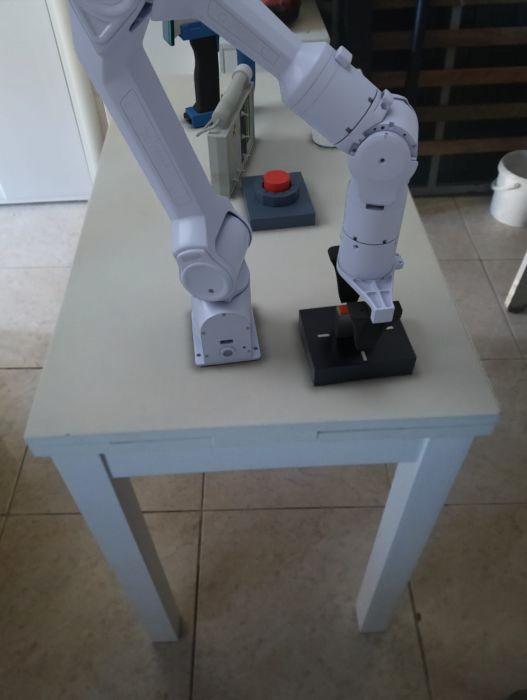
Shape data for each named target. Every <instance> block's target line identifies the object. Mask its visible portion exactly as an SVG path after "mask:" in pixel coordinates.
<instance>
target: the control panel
mask: <svg viewBox="0 0 527 700" xmlns="http://www.w3.org/2000/svg"><path fill="white" fill-rule="evenodd" d="M339 305H340V304H338V305H329V306H328V305H327V306H320V307H310V308H301V309H298V321H297V322H298V323H297V326H298V327H297V328H298V331H299V335H300V338H301V339H300V340H301V343H302V347H303V351H304V355H305V359H306V361H307V366H308V370H309V374H310V377H311V382H312V386H313V387H318V386H326V385H332V384H334V385H335V384H343V383H350V382H358V381H359V382H361V381H366V380H376V379H383V378H391V377H399V376H400V377H401V376H407V375H413V373H414V369H415V365H416V361H417V354H416V352H415V349H414V348H413V346H412V345H413V344H411V343H412V342H411V341H410V338H409V336H408V333H407V332H406V329H405V327H404V324H403V322H402V320H401V318H400V319H398V320H397V321H395V322H394V323H392V324H391V325H390V326H389V327H388V328H387V329H386V330H385V331H384V332H383V334H382V335H381V337H380V338H379V340H378V342H377V343H376V345H375V346H374V348H369V349H360V350H357V348H356V345H355V342H354V337H349V338H341V339H337V338H336V335H335V332H334V325H335V316H336V307H337V306H339Z"/></svg>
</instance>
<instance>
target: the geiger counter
mask: <svg viewBox="0 0 527 700" xmlns="http://www.w3.org/2000/svg"><path fill="white" fill-rule="evenodd" d="M252 74H253V73H252V70H251V68H250V67H249V66H248V65H247V64H240V65H238V66H237V65H236V67H235V69H234V70H233V72H232V75H231V81H230V82H229V84H228V86H227V88H226V89H225V91H224V93H220V102H219V104H218V105H217V107H216V109H215V111H214V112H213V114H212V119H211V120H210V121H209V122H208V123H207V124H206V125H205V126H203V128H201V130H199V131H198V132H197V133H196V134H195V137H196V138H198V137H200V136H201V135H202V134H205V133H207V135H206V137H207V138H206V139H207V149H208V160H209V162H208V163H209V173H210V174H209V175H210V184H211V186H212V188H213V190H214V192H215V194H217V195H221V196H225V197H228V198H229V200H230V199H231V198H232V196H233V193H234V190H235V189H236V186H237V183H241V180H239V179H240V178H241V174H242V172H246V169H244V167H245V165H246V163H247V160H248V158H249V157H251V154H250V153H251V151H252V148H253V146H254V144H255V141H256V130H255V129H256V128H255V127H256V126H255V125H256V124H255V90H254V82H251V81H250V80H251V78H252ZM212 122H213V124H211V123H212Z"/></svg>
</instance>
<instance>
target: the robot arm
mask: <svg viewBox="0 0 527 700" xmlns="http://www.w3.org/2000/svg"><path fill="white" fill-rule="evenodd" d="M66 1H67V9H68V17H69V24H70V31H71V36H72V44H73V48H74V49H73V50H74V51H75V54H76V56H77V58H78V61H79V62H80V64H81V66H82V67H83V68H84V71H85V72H86V74H87V77H89V79H90V81H91V83H92V85H93V86H94V88H95V90H96V92H97V94H98V95H99V97H100V99H101V100H102V102H103V104H104V106H105V108H106V109H107V111H108V113H109V115H110V116H111V118H112V120H113V122H114V123H115V125H116V127H117V128H118V130H119V132H120V134H121V136H122V137H123V139H124V141H125V142H126V145H127V146H128V148H129V150H130V152H131V153H132V155H133V157H134V159H135V160H136V162H137V164H138V165H139V167H140V169H141V170H142V173H143V174H144V176H145V178H146V179H147V182H148V183H149V184H150V185H149V186H151V188H152V190H153V192H154V193H155V195H156V197H157V199H158V200H159V202H160V204H161V206H162V207H163V210H164V211H165V213H166V215H167V216H168V218H169V220H170V223H171V254H172V256H173V257H174V259H175V262H176V263H177V265H178V279H179V282H180V284H181V285H182V287H183V288H184V289H185V290H186V291H187V293H189V295H190V301H191V307H192V311H191V313H190V314H191V315H190V316H191V327H192V328H191V329H192V339H193V350H194V351H193V352H194V361H195V362H194V363H195V365H196V366H197V367H205V366H212V365H213V366H214V365H222V364H231V363H238V362H247V361H254V360H255V361H256V360H259V359H261V357H262V355H261V349H260V343H259V337H258V333H257V327H256V322H255V317H254V311H253V306H252V288H251V287H252V286H251V272H250V268H249V266H248V264H247V261H246V254H247V251H248V249H249V248H250V246H251V244H252V241H253V231H252V229H251V227H250V224H249V221H248V219H246V218H245V217H244V216H243V215H241V214H240V213H239V212H238V211H237V209H235V207H234V206H233V203H232V202H231V200H230V199H229V198H228V197H225V196H221V195H217V194H215V192H214V190H213V188H212V185H211V181H209V178H208V176H207V174H206V172H205V170H204V168H203V166H202V164H201V162H200V160H199V158H198V155H197V154H196V151H195V150H194V147H193V145H192V143H191V142H190V140H189V137H188V136H187V135H188V134H187V133H186V131H185V130H184V127H183V125H182V123H181V121H180V119H179V117H178V115H177V113H176V111H175V109H174V107H173V105H172V102H171V101H170V98H169V97H168V95H167V92H166V90H165V89H164V87H163V85H162V82H161V81H160V78H159V77H158V75H157V73H156V70H155V68H154V67H153V64H152V62H151V60H150V58H149V56H148V54H147V52H146V50H145V47H144V45H143V43H144V39H145V35H146V33H147V29H148V27H149V23H150V21H151V22H162V21H166V20H177V19H189V18H195V19H198V20H199V21H201V22H202V23H203V24H205V25H206V26H207V27H209V28H210V29H211V30H213V31H214V32H215V33H217V34H218V35H219V36H220V37H221V38H222V39H223V40H225V41H226V42H227V43H229V44H230V45H232V46H233V47H234V48H235V49H236V48H237V49H238V50H240V51H241V52H242V53H244V54H245V55H246V56H248V57H249V58H250V59H252V60H253V61H254V62H255V64H257V65H258V66H259V67H261V68H262V69H263V70H265V71H266V72H268V73H269V74H270V75H272V76H273V77H274V78H276V80H277V82H278V85H279V90H280V91H279V92H280V97H281V101H282V103H283V104H284V105H285V106H286V107H287V108H289V110H291V111H292V112H293V113H295V115H297V116H298V117H299V118H300V119H302V120H303V121H304V122H305V123H306V124H308V125H309V126H310V127H311V128H312V129H313V128H314V129H315V130H316V131H318V132H319V133H320V134H321V135H322V136H324V137H325V138H326V139H327V140H328V141H330V142H331V143H333V145H334V146H336V147H335V148H337V149H338V150H340V151H341V152H343V153H344V154H346V155H347V158H346V162H347V168H348V170H349V173H350V179H349V180H348V183H347V185H346V194H345V201H344V211H343V221H342V222H340V230H339V239H340V243H339V245H332V246H330V247H328V249H327V255H328V258H329V260H330V262H331V264H332V266H333V268H334V273H335V277H336V278H335V279H336V287H337V294H338V297H339V301H340V304H345V305H346V307H347V310H348V313H349V315H350V318H351V320H352V322H353V326H354V342H355V345H356V348H357V350H360V349H369V348H374V346H375V345H376V343H377V342H378V340H379V338H380V337H381V335H382V334H383V332H384V331H385V330H386V329H387V328H388V327H389V326H390V325H391V324H392V323H394V322H395V321H397V320H398V319H400V320H401V318H402V316H403V312H404V311H403V306H402V305H401V302H400V301H399V300H393V290H394V280H395V271H397V270H398V271H399V270H402V269H403V268H404V265H405V261H404V259H403V257H402V255H401V254H400V253H398V252H397V247H398V242H399V240H400V239H399V238H400V233H401V229H402V224H403V219H404V213H405V208H406V203H407V199H408V194H409V188H408V185H409V183H410V180H411V178H412V177H413V176H414V174H415V173H416V171H417V168H418V167H419V166H418V165H419V161H417V159H418V150H419V149H418V147H419V121H418V116H417V114H416V111H415V109H414V108H413V106H412V105H411V104H410V103H409V101H408V98H406V97H405V96H403V95H401V94H396V93H391V92H390V91H389V90H388V89H387V88H385V89H384V90H382V91H381V90H380V89H379V88H378V87H377V86H376V85H374V83H373V82H371V81H370V80H369V79H368V78H367V77H365V75H364V74H363V73H361V72H360V71H359V69H357V68H356V67H354V66H353V65H352V64H351V63H352V60H353V53H351V52H350V51H349V50H348V49H347V48H346V47H344V45H341V46H339V47H338V48H337V49H335V48H333V46H331V44H329V43H328V42H327V41H311V42H310V41H309V42H307V41H306V42H305V41H302V40H301V39H300V38H299V37H298V36H297V35H296V34H295V33H294V32H293V31H292V30H291V29H290V28H289V27H288V26H287V25H286V24H285V23H284V22H283V21H282V20H281V19H280V18H279V16H277V15H276V14H275V13H274V12H273V11H272V10H271V9H270V8H269V7H268V6H267V5H266V4H265V3H264V2H263V1H261V0H66ZM360 297H361V299H362V300H359V299H360Z"/></svg>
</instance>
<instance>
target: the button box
mask: <svg viewBox="0 0 527 700" xmlns="http://www.w3.org/2000/svg"><path fill="white" fill-rule="evenodd" d="M287 173H288V174H289V176H290V187H289V189H288V190H286V191H284V192H279V193H274V192H269V191H267V190H265V188H264V175H265V174H260V175H250V176H249V175H247V176H240V185H241V187H240V188H241V192H242V198H243V203H244V206H245V210H246V217H247V221H248V223H249V224H250V227H251V229H252V232H258V231H259V232H261V231H268V230H269V231H270V230H278V229H291V228H300V227H309V226H315V225H316V224H315V223H316V211H315V208H314V205H313V202H312V200H311V196H310V194H309V191H308V188H307V185H306V182H305V179H304V177H303V174H302V172H301V171H293V172H292V171H291V172H287Z"/></svg>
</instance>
